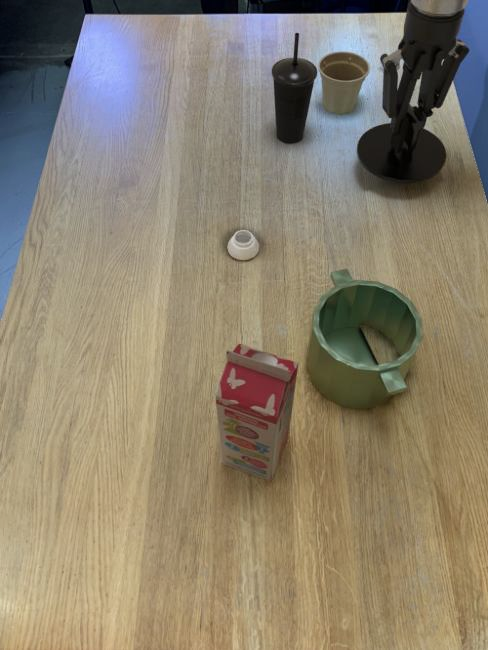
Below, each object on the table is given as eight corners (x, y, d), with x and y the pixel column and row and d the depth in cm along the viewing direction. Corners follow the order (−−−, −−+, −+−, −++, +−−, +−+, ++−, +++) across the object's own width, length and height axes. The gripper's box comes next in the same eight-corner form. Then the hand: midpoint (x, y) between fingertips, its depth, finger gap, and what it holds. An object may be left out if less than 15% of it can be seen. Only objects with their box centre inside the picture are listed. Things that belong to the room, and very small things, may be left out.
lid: (420, 121, 107) (433, 74, 99) (460, 175, 99) (477, 129, 91) (343, 137, 105) (349, 91, 97) (377, 194, 97) (387, 148, 89)
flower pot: (349, 128, 113) (356, 87, 106) (305, 111, 116) (309, 71, 109) (370, 101, 117) (378, 60, 110) (327, 86, 120) (332, 45, 113)
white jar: (221, 246, 96) (238, 266, 94) (221, 233, 94) (238, 253, 92) (247, 233, 98) (265, 252, 96) (247, 220, 96) (265, 240, 93)
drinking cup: (316, 130, 112) (328, 27, 96) (301, 155, 109) (310, 52, 92) (278, 120, 114) (284, 16, 98) (262, 144, 110) (265, 40, 94)
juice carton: (240, 418, 79) (238, 325, 61) (288, 435, 78) (300, 345, 60) (221, 463, 76) (213, 378, 58) (271, 482, 74) (278, 401, 56)
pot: (373, 301, 90) (386, 255, 81) (429, 411, 80) (452, 372, 71) (287, 322, 88) (291, 278, 79) (334, 438, 78) (345, 401, 69)
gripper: (473, -19, 84) (433, 124, 103) (374, -1, 82) (352, 141, 101) (501, 8, 80) (453, 151, 99) (397, 27, 77) (370, 169, 97)
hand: (402, 146), depth 100 cm, fingers closed on lid, 2 cm apart
